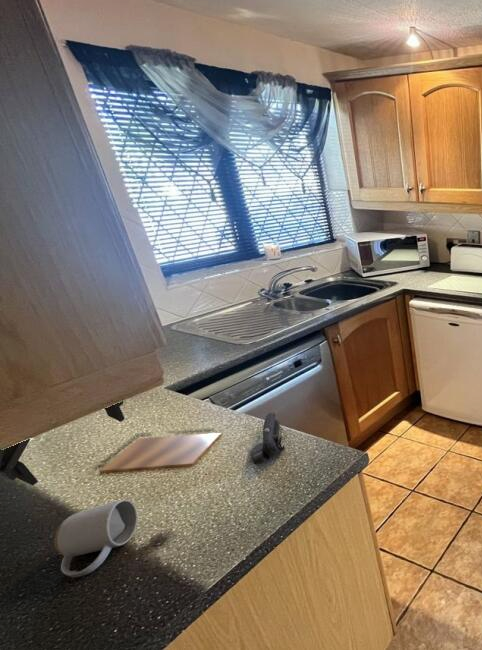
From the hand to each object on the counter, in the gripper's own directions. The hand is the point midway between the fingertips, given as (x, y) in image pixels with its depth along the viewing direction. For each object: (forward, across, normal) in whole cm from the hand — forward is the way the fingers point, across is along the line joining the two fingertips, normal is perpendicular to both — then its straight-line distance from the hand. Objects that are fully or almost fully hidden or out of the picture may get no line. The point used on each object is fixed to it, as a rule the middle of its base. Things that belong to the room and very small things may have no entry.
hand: (75, 446), depth 69 cm
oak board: (+23, +12, 0) cm, 26 cm away
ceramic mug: (+11, -9, -13) cm, 19 cm away
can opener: (+14, +21, -22) cm, 34 cm away
